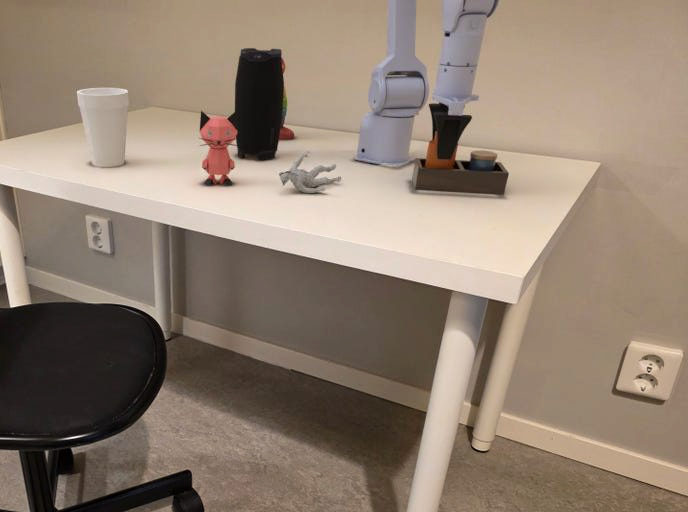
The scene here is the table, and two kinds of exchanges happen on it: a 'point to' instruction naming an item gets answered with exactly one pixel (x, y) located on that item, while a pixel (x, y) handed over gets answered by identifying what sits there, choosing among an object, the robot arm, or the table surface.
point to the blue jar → (482, 160)
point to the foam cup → (105, 124)
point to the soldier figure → (307, 177)
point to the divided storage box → (460, 178)
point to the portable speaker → (259, 102)
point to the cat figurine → (218, 146)
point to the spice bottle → (432, 157)
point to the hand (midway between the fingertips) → (441, 153)
